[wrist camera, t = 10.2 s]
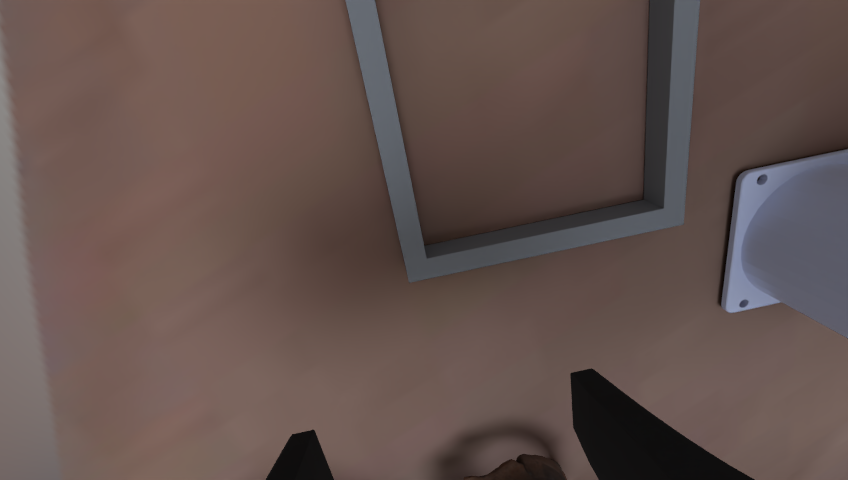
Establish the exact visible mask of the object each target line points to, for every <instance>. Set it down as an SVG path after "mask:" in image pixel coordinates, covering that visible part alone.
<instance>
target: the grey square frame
mask: <svg viewBox="0 0 848 480" xmlns="http://www.w3.org/2000/svg"><path fill="white" fill-rule="evenodd" d="M346 5H347V9H348V14H349V18H350V23H351V27H352V31H353V36H354V40H355V45H356V49H357V54H358V58H359V63H360V67H361V71H362V76H363V80H364V85H365V89H366V94H367V98H368V102H369V107H370V111H371V116H372V120H373V125H374V129H375V133H376V138H377V142H378V147H379V151H380V156H381V160H382V165H383V169H384V173H385V178H386V182H387V187H388V191H389V196H390V200H391V204H392V209H393V213H394V218H395V222H396V227H397V231H398V236H399V240H400V244H401V249H402V253H403V258H404V262H405V267H406V271H407V275H408V280H409V283H411V282H415V281H420V280H425V279H429V278H434V277H439V276H444V275H448V274H453V273H458V272H462V271H467V270H472V269H476V268H481V267H486V266H491V265H495V264H500V263H505V262H509V261H514V260H519V259H524V258H528V257H533V256H538V255H542V254H547V253H552V252H556V251H561V250H566V249H571V248H575V247H580V246H585V245H589V244H594V243H599V242H604V241H608V240H613V239H618V238H622V237H627V236H632V235H636V234H641V233H646V232H651V231H655V230H660V229H665V228H669V227H674V226H679V225H683V224H684V212H685V198H686V185H687V171H688V157H689V144H690V130H691V116H692V103H693V89H694V75H695V62H696V48H697V34H698V21H699V7H700V0H650V10H649V42H648V74H647V107H646V139H645V171H644V200H639V201H635V202H630V203H625V204H620V205H616V206H611V207H606V208H601V209H597V210H592V211H587V212H582V213H578V214H573V215H568V216H563V217H559V218H554V219H549V220H544V221H540V222H535V223H530V224H525V225H521V226H516V227H511V228H506V229H502V230H497V231H492V232H487V233H483V234H478V235H473V236H468V237H464V238H459V239H454V240H449V241H445V242H440V243H435V244H430V245H426V246H424V243H423V238H422V233H421V228H420V223H419V218H418V213H417V208H416V203H415V198H414V193H413V188H412V183H411V178H410V173H409V168H408V163H407V158H406V153H405V148H404V143H403V138H402V133H401V128H400V123H399V118H398V113H397V108H396V103H395V98H394V93H393V88H392V83H391V78H390V73H389V68H388V63H387V58H386V54H385V49H384V44H383V39H382V34H381V29H380V24H379V19H378V14H377V9H376V4H375V0H346Z"/></svg>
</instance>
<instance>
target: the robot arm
mask: <svg viewBox="0 0 848 480" xmlns="http://www.w3.org/2000/svg"><path fill="white" fill-rule="evenodd" d="M759 176H760V179H759V180H758V181H757V179H758V177H759ZM780 302H782V303H784V304H786V305H788V306H790V307H791V308H793V309H795V310H797V311H799V312H800V313H802V314H804V315H806V316H808V317H810V318H811V319H813V320H815V321H817V322H819V323H820V324H822V325H824V326H826V327H828V328H830V329H831V330H833V331H835V332H837V333H839V334H841V335H842V336H844V337H846V338H848V149H846V150H841V151H836V152H831V153H827V154H822V155H817V156H812V157H807V158H803V159H798V160H793V161H788V162H784V163H779V164H774V165H769V166H765V167H760V168H755V169H750V170H746V171H744V172H742V173H741V174H740V175H739V177H738V178H737V181H736V188H735V196H734V204H733V212H732V221H731V229H730V237H729V245H728V253H727V261H726V269H725V278H724V286H723V294H722V302H721V306H722V308H723V309H724V310H725V311H727V312H729V313H734V312H739V311H743V310H748V309H753V308H757V307H762V306H766V305H771V304H775V303H780ZM571 392H572V411H573V428H574V430H575V432H576V434H577V437H578V439H579V441H580V443H581V446H582V448H583V450H584V452H585V454H586V456H587V458H588V461H589V463H590V465H591V467H592V468H593V470H594V472H595V473H596V475H597V477H598V479H599V480H754V479H752V478H751V477H749V476H747V475H745V474H744V473H742V472H740V471H738V470H737V469H735V468H733V467H732V466H730V465H728V464H727V463H725V462H723V461H722V460H720V459H719V458H717V457H715V456H714V455H712V454H711V453H709V452H707V451H706V450H704V449H703V448H701V447H700V446H698V445H697V444H695V443H694V442H692V441H691V440H689V439H687V438H686V437H685V436H683V435H682V434H680V433H679V432H677V431H676V430H674V429H673V428H671V427H670V426H669V425H667V424H666V423H664V422H663V421H662V420H660V419H659V418H657V417H656V416H654V415H653V414H652V413H650V412H649V411H647V410H646V409H645V408H643V407H642V406H641V405H639V404H638V403H637V402H635V401H634V400H633V399H631V398H630V397H629V396H627V395H626V394H625V393H623V392H622V391H621V390H620V389H618V388H617V387H616V386H614V385H613V384H612V383H611V382H609V381H608V380H607V379H605V378H604V377H603V376H601V375H600V374H599V373H598V372H596V371H595V370H593V369H587V370H583V371H578V372H574V373H571ZM266 480H334V479H333V476H332V474H331V471H330V469H329V466H328V464H327V461H326V458H325V456H324V453H323V451H322V448H321V446H320V443H319V441H318V438H317V436H316V433H315V431H314V430H311V431H306V432H302V433H297V434H292V436H291V437H290V438H289V440H288V442H287V443H286V445H285V447H284V449H283V450H282V452H281V454H280V456H279V457H278V459H277V461H276V463H275V464H274V466H273V468H272V470H271V471H270V473H269V475H268V476H267V478H266Z"/></svg>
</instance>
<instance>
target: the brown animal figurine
mask: <svg viewBox="0 0 848 480" xmlns="http://www.w3.org/2000/svg"><path fill="white" fill-rule="evenodd" d="M464 480H567V478H566V476H565V474H564V473H563V471H562V469H561V467H560V465H559V464H558V463H557V462H555V461H553V460H552V459H549V458H546V457H543V456H538V455H527V454H522V455H520V456H518V458H517V460H516V461H515V460H512V459H511V460H508V461H506V462H504V463H503V464H501V465H500V466H499V467H498V468H496V469H495V470H493V471H492V472H491V473H489V474H487V475H484V476H480V477H478V476H469V477H464Z"/></svg>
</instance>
